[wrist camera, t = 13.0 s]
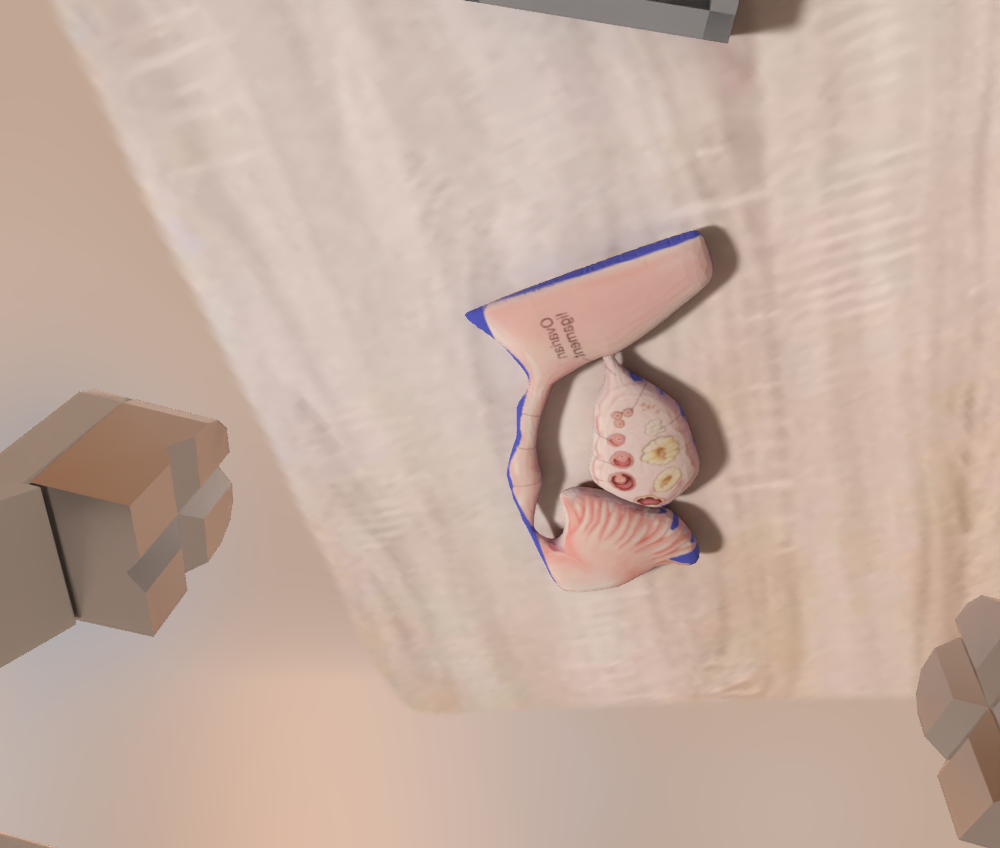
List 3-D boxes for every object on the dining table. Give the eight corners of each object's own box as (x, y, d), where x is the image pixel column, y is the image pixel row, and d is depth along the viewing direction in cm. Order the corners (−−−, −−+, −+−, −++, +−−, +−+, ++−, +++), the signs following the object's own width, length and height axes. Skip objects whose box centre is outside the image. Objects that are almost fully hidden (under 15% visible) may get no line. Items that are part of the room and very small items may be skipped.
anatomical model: (699, 218, 36) (430, 312, 42) (703, 237, 34) (416, 335, 39) (794, 531, 45) (562, 577, 50) (802, 564, 43) (558, 609, 48)
